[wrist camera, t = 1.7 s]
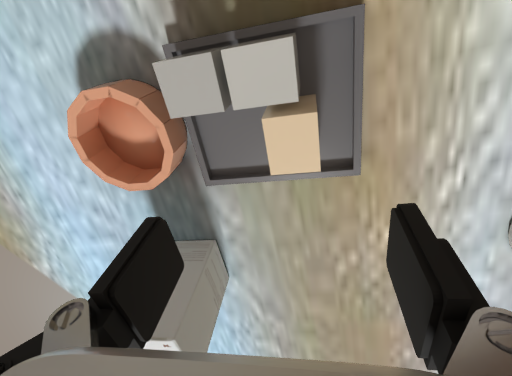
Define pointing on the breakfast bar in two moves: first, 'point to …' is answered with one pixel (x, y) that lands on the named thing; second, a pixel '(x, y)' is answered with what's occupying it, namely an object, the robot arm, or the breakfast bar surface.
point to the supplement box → (193, 300)
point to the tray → (311, 82)
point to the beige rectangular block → (292, 136)
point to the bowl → (126, 134)
